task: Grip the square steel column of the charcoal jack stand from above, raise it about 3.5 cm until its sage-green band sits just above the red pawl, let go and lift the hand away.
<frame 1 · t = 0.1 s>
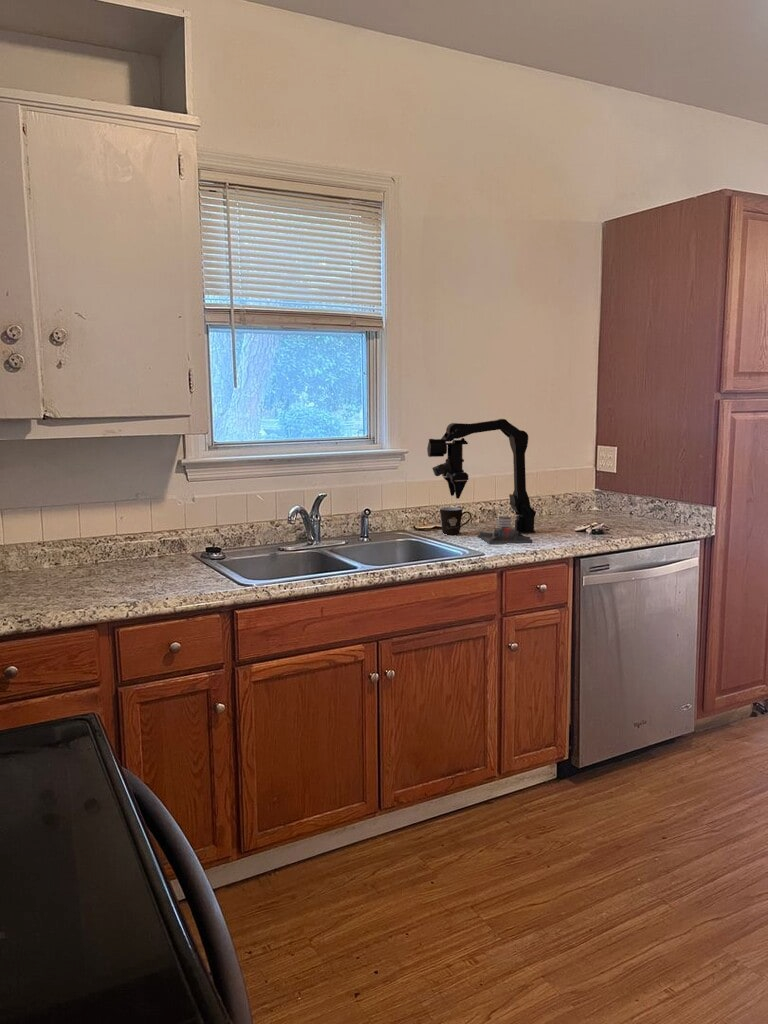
hand: (454, 497, 299), 15 cm above the worktop, tool pointing down, fingers open, 9 cm apart
column: (504, 526, 288), point 5 cm above the worktop, slide at 0.0 cm
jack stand: (504, 539, 288), on the worktop
coffee mug: (454, 535, 301), on the worktop
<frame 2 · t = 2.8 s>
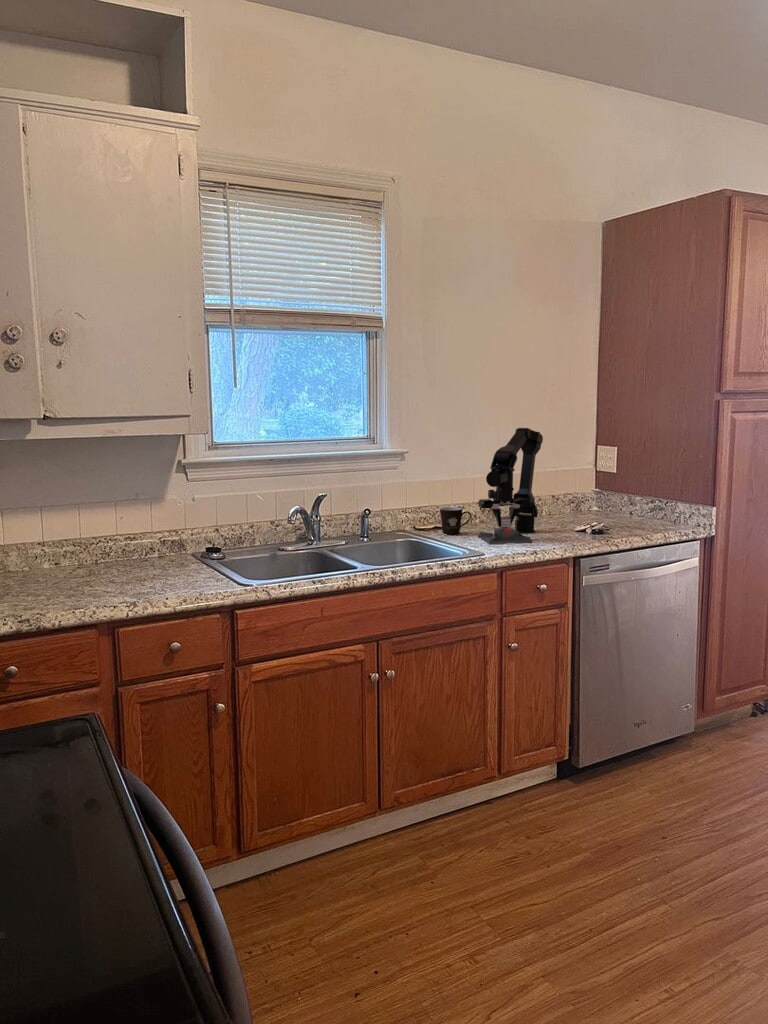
hand: (504, 526, 288), 5 cm above the worktop, tool pointing down, fingers closed on column, 4 cm apart
column: (504, 526, 288), point 5 cm above the worktop, slide at 0.0 cm, touching gripper
everything else where it was.
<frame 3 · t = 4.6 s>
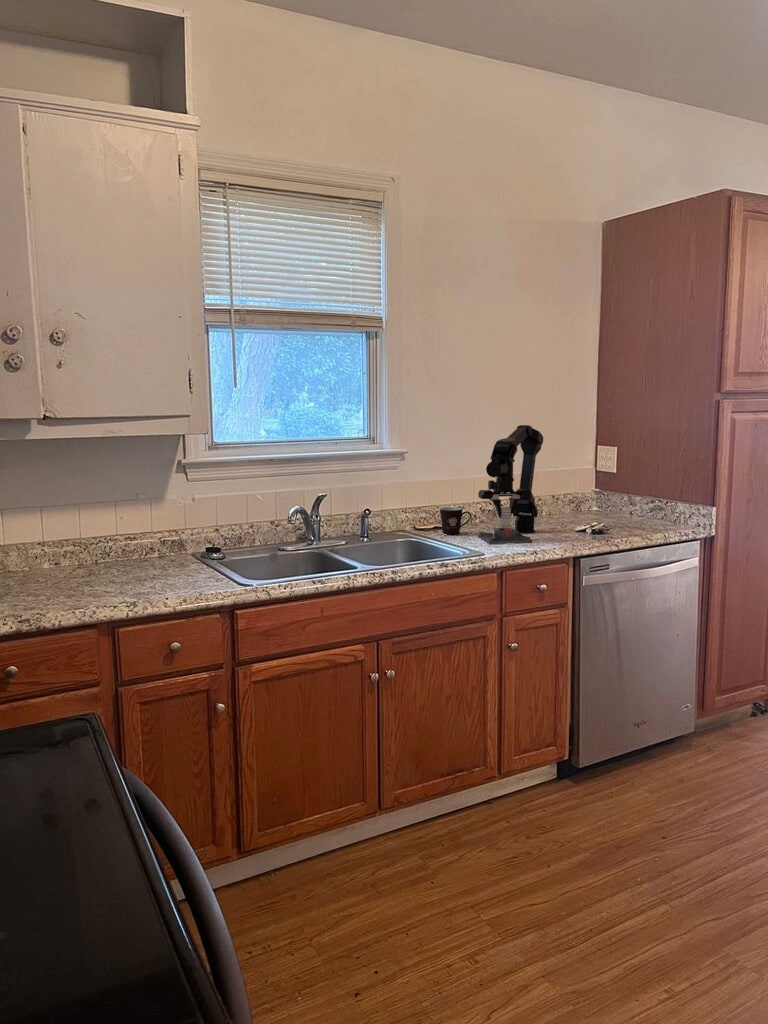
hand: (504, 517, 287), 8 cm above the worktop, tool pointing down, fingers closed on column, 4 cm apart
column: (504, 517, 287), point 8 cm above the worktop, slide at 3.4 cm, touching gripper
everything else where it was.
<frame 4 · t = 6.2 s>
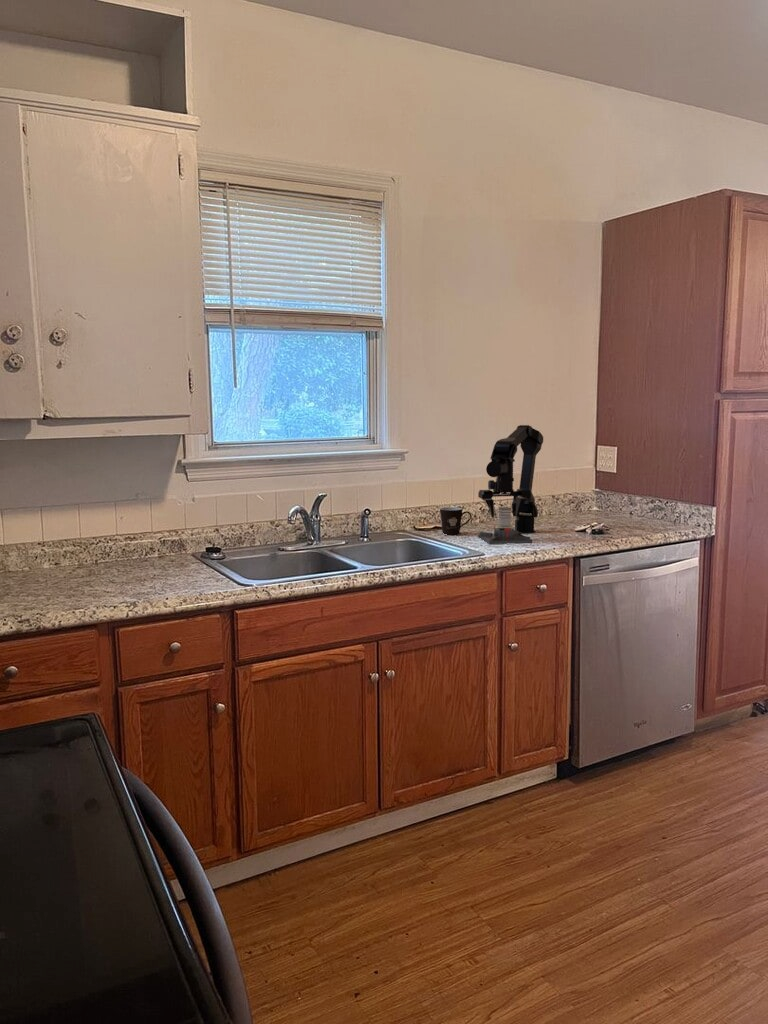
hand: (504, 517, 287), 8 cm above the worktop, tool pointing down, fingers open, 9 cm apart
column: (504, 517, 287), point 8 cm above the worktop, slide at 3.5 cm
everything else where it was.
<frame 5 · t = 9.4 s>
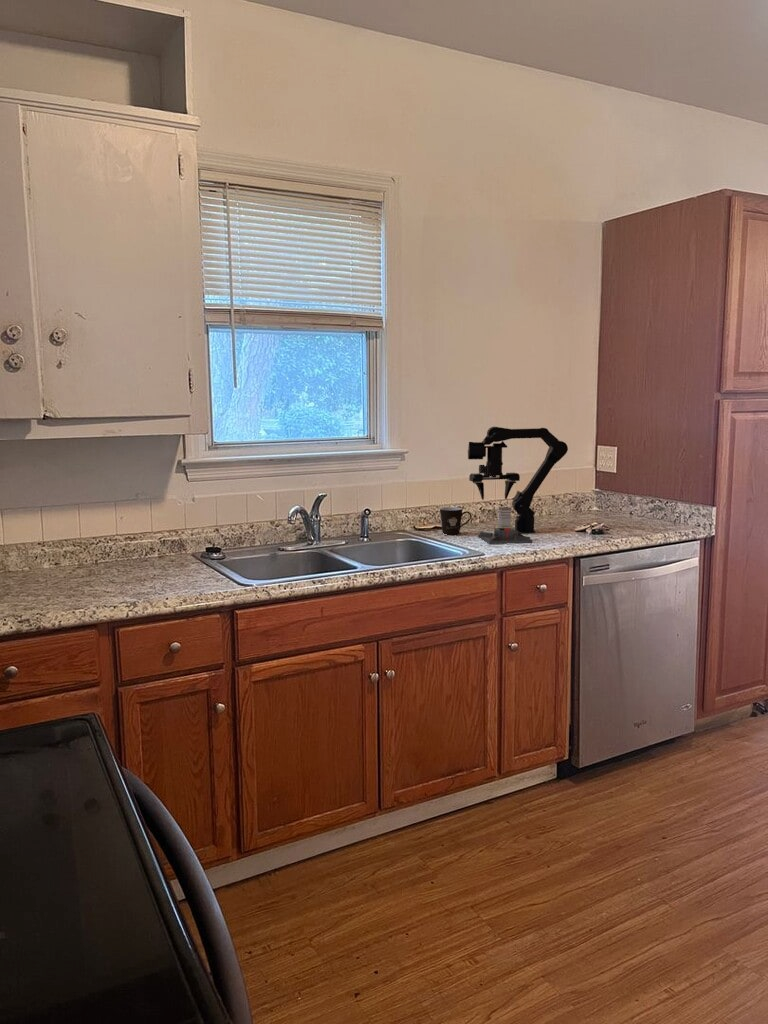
hand: (494, 499, 303), 13 cm above the worktop, tool pointing down, fingers open, 9 cm apart
nothing on the worktop moved.
at the end: column slide at 3.5 cm; the gripper is holding nothing; coffee mug moved 0.2 cm from its start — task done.
